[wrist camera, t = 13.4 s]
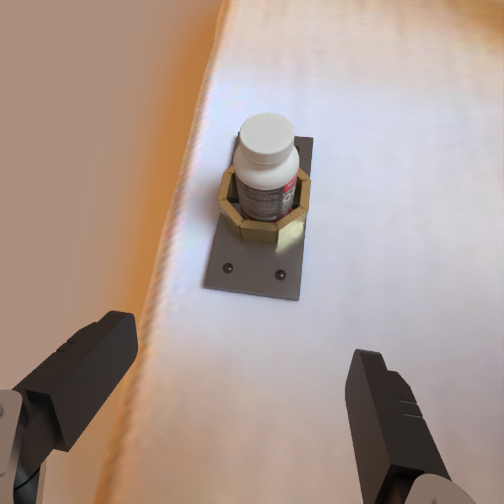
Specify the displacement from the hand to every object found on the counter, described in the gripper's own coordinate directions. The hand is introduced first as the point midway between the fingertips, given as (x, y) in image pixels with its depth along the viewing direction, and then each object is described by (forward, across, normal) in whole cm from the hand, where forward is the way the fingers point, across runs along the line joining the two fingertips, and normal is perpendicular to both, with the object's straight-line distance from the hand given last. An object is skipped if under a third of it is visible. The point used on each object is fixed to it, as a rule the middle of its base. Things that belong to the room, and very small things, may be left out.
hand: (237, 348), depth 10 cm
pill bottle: (+21, +1, 0) cm, 21 cm away
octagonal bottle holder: (+21, +1, 0) cm, 21 cm away
